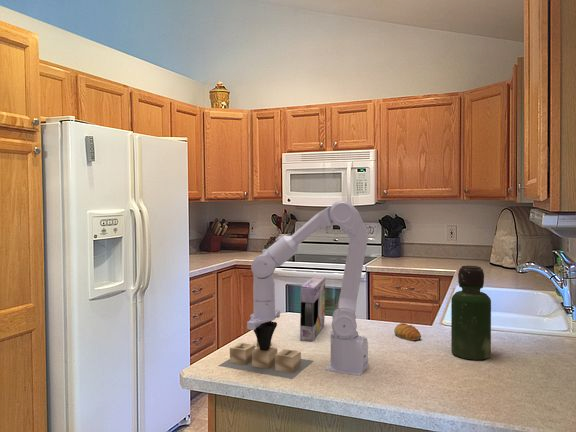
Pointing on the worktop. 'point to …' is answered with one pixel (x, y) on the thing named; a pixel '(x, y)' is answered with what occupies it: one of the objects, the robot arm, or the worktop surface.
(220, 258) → the worktop surface
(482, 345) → the green bottle
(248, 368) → the tap mat
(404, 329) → the pastry
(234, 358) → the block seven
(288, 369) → the block one
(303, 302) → the cake pan box
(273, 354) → the plain block
